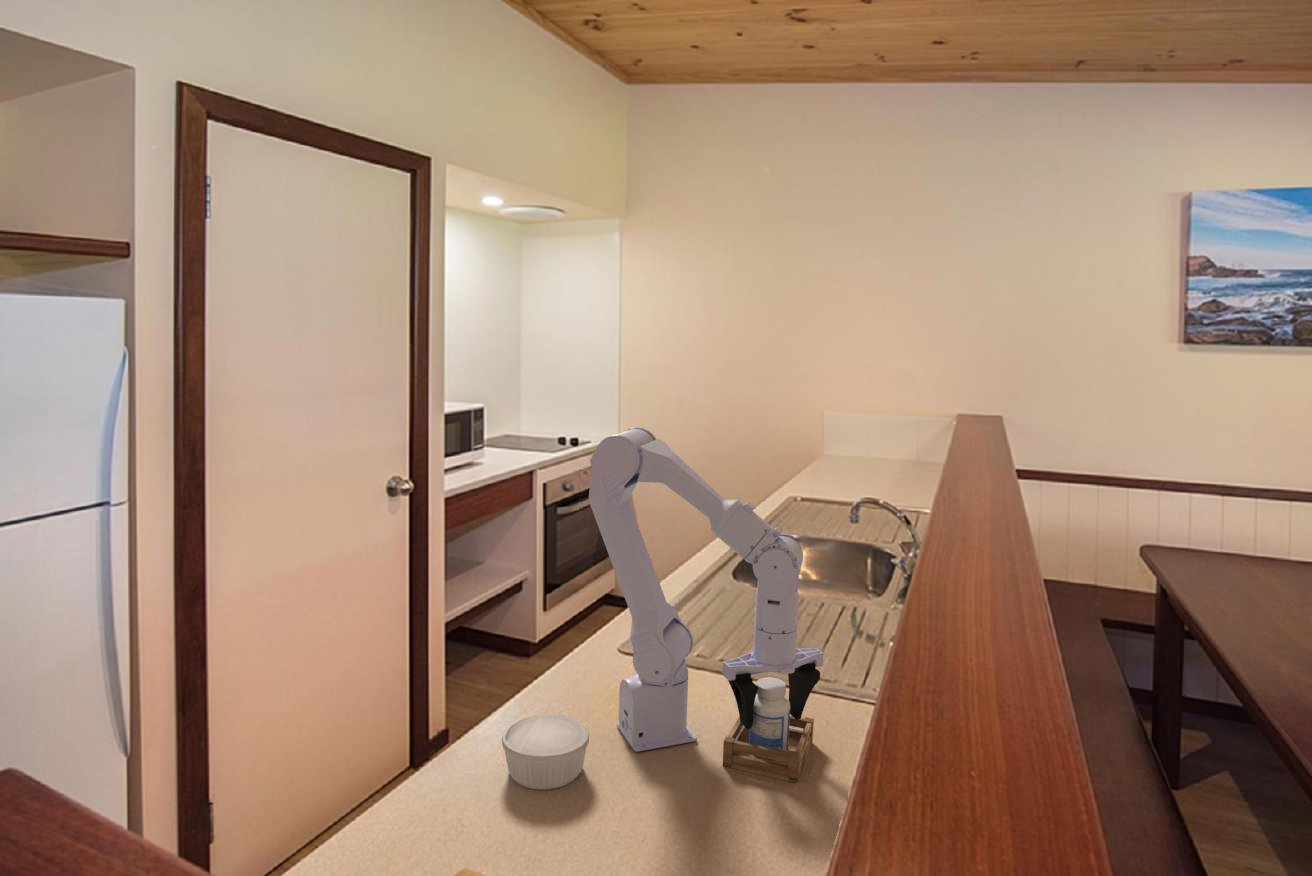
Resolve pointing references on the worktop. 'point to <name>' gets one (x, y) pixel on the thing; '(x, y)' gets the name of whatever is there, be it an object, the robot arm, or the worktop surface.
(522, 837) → the worktop surface
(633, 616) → the robot arm
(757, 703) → the pill bottle
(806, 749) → the crate
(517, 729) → the ramekin
